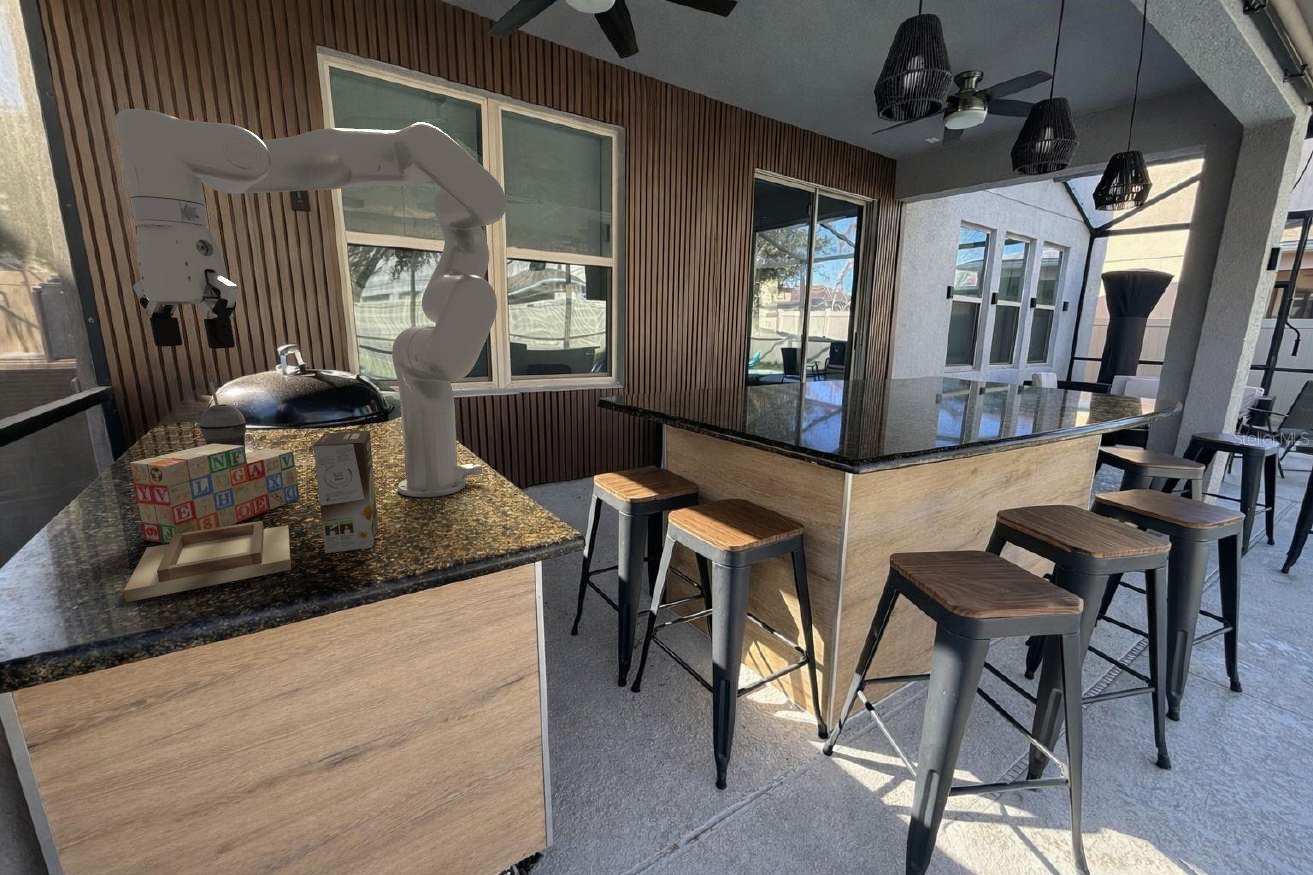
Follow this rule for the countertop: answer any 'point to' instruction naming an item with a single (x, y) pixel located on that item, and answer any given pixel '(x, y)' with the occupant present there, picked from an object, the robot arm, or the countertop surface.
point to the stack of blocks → (210, 488)
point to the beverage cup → (223, 424)
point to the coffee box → (346, 490)
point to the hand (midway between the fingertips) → (195, 347)
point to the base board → (210, 559)
